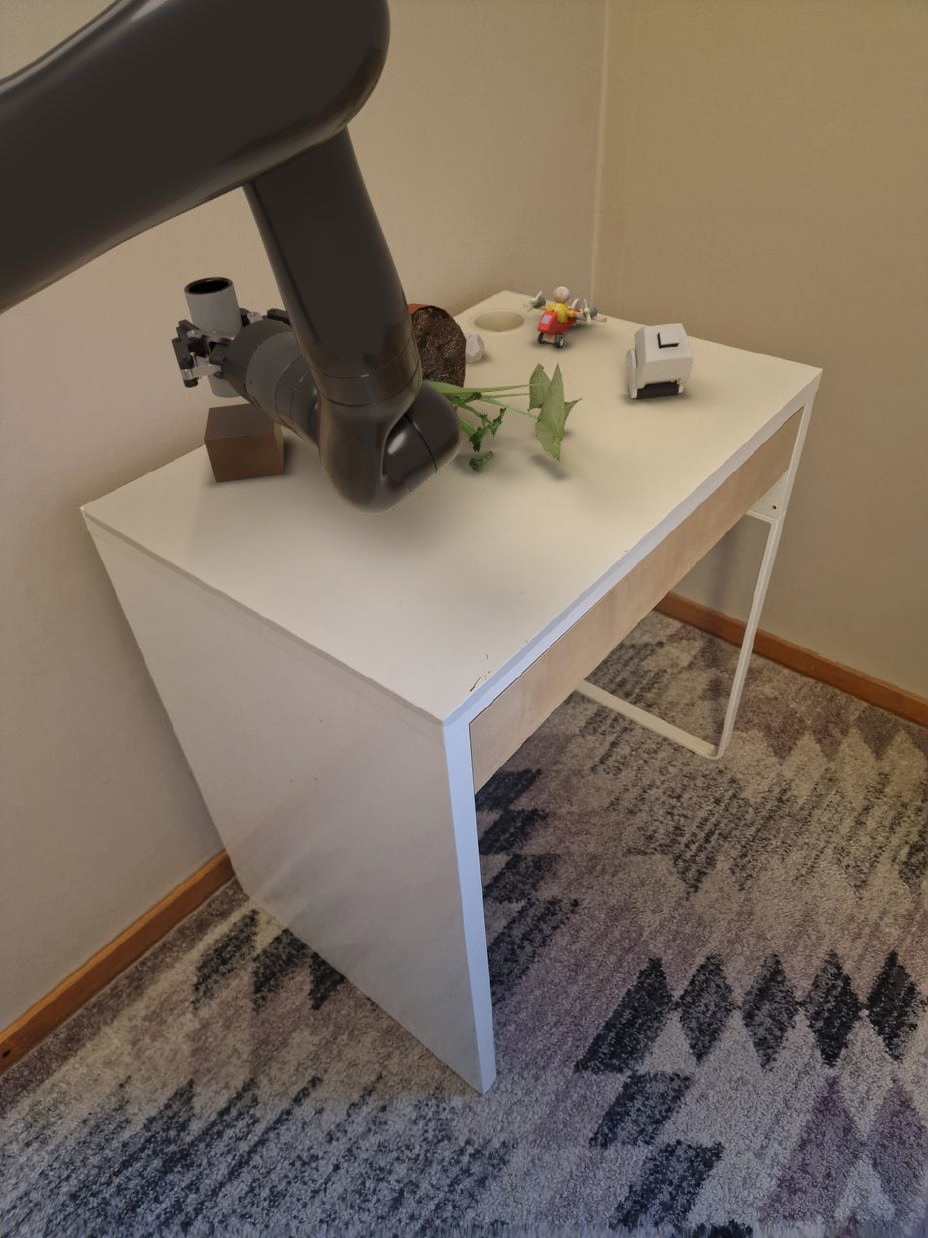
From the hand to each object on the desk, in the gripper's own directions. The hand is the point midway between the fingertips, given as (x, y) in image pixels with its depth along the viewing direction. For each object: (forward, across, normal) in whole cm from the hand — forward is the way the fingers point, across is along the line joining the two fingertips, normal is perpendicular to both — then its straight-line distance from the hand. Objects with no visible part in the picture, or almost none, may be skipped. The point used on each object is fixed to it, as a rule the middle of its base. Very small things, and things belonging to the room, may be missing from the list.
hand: (208, 322), depth 84 cm
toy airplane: (-1, -46, +15) cm, 48 cm away
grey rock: (+2, -33, +15) cm, 36 cm away
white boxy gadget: (-20, -42, +15) cm, 49 cm away
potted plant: (-15, -19, +15) cm, 29 cm away
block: (-2, 0, +14) cm, 15 cm away
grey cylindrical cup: (-3, 0, +6) cm, 7 cm away
